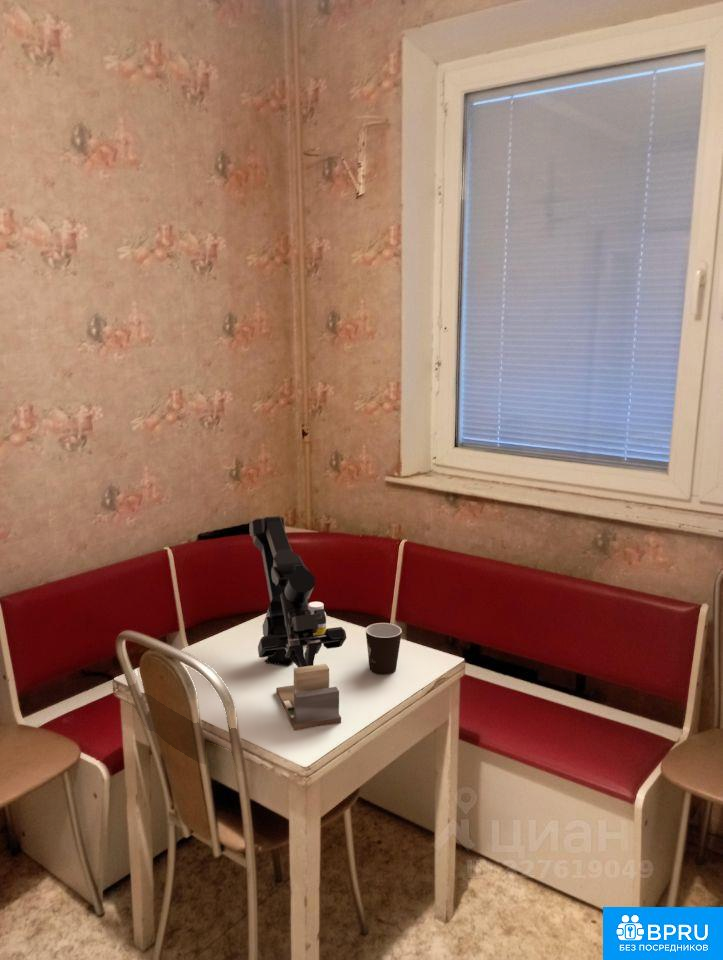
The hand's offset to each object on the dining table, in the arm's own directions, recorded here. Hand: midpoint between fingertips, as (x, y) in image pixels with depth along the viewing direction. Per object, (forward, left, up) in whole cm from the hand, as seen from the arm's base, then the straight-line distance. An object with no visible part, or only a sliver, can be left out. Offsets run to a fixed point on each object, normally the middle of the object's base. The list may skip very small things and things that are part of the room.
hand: (309, 680), depth 152 cm
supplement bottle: (-11, +35, -7) cm, 38 cm away
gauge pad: (0, -2, -6) cm, 6 cm away
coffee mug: (+10, +25, -7) cm, 28 cm away
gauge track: (-1, +2, -7) cm, 7 cm away
